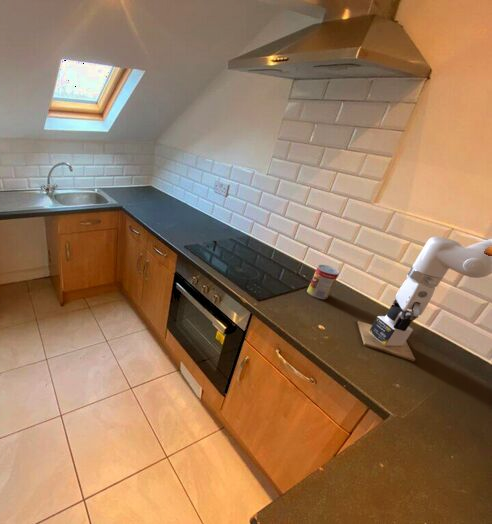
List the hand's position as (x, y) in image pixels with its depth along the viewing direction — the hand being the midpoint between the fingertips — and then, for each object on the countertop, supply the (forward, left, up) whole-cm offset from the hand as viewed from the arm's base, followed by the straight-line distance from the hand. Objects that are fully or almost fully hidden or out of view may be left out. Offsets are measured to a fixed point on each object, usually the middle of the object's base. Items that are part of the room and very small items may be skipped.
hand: (395, 321), depth 100 cm
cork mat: (0, 0, -8) cm, 8 cm away
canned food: (+20, -21, -8) cm, 30 cm away
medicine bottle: (0, 0, -8) cm, 8 cm away
